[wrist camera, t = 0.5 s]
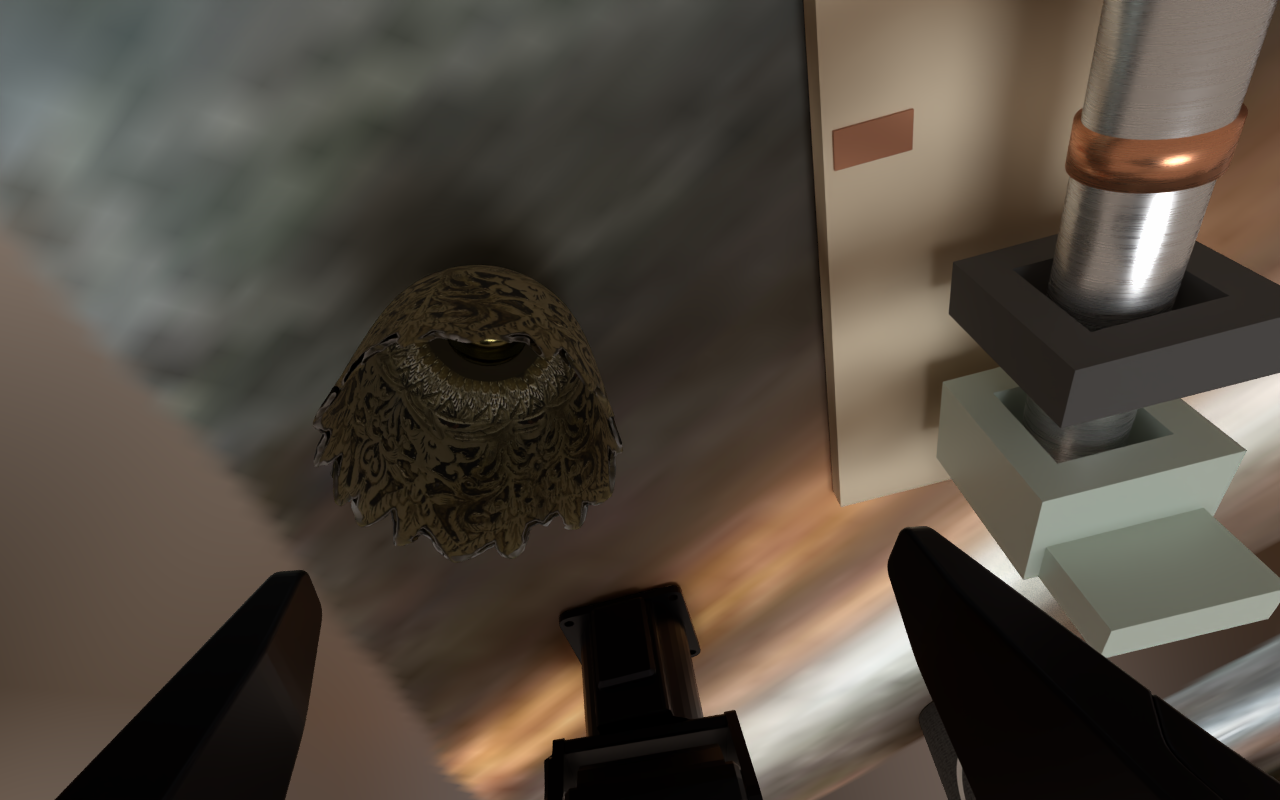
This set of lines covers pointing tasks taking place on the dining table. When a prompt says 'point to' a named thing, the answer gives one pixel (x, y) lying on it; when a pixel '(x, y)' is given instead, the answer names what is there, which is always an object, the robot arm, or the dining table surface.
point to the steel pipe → (1145, 171)
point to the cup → (470, 416)
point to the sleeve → (1110, 517)
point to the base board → (926, 198)
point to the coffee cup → (944, 756)
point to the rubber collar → (1117, 334)
